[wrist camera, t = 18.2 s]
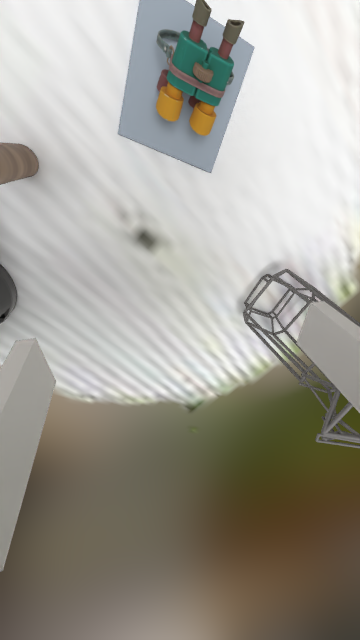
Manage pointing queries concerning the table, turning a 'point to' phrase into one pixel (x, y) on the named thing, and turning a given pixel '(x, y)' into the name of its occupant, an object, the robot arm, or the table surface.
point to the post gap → (16, 162)
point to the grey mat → (142, 94)
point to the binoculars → (196, 70)
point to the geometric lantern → (333, 401)
